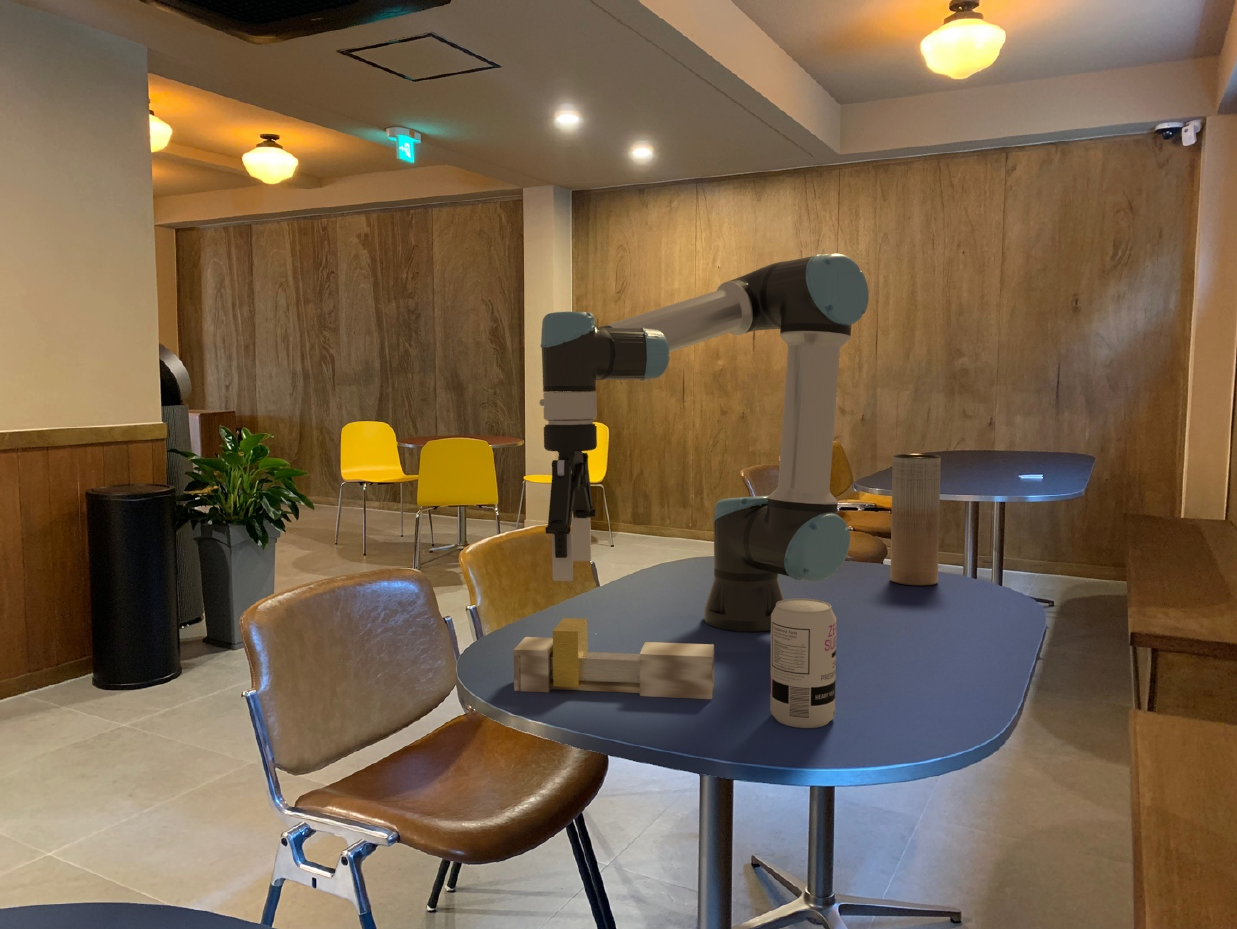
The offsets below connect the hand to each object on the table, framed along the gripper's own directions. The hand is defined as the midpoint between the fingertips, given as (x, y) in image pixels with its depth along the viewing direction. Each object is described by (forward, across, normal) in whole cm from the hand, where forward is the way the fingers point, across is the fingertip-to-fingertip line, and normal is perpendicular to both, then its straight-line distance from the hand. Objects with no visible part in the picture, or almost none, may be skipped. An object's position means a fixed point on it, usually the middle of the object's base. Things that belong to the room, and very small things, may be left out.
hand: (573, 570), depth 130 cm
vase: (+18, -77, +60) cm, 100 cm away
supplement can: (+17, +10, +32) cm, 37 cm away
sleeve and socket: (+17, +1, +6) cm, 18 cm away
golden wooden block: (+16, +1, +3) cm, 16 cm away
